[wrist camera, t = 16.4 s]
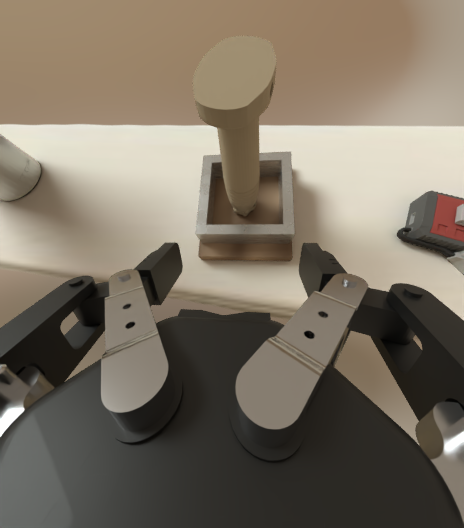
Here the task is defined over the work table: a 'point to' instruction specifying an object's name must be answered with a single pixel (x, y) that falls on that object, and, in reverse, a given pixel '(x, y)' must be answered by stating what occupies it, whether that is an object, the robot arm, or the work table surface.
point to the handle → (237, 109)
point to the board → (261, 214)
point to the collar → (252, 233)
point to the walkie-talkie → (437, 226)
